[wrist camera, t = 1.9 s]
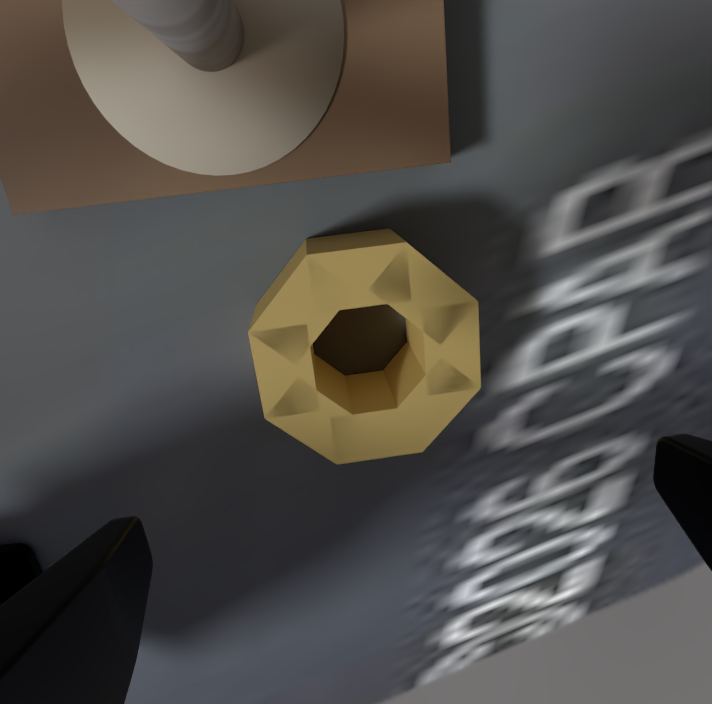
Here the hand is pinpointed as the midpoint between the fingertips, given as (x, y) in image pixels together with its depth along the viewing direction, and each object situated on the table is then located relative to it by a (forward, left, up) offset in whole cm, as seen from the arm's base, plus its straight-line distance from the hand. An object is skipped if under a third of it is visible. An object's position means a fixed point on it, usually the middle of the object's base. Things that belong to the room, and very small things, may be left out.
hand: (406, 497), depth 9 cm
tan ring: (0, 0, -9) cm, 9 cm away
